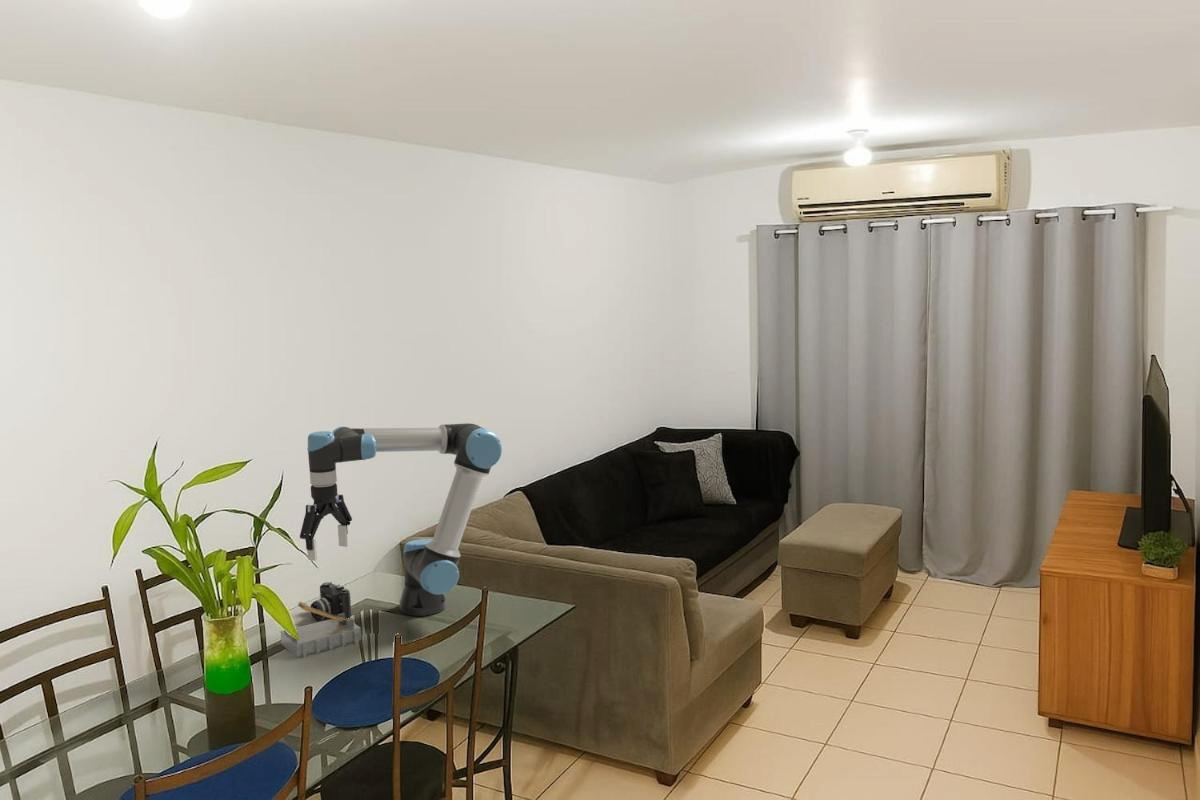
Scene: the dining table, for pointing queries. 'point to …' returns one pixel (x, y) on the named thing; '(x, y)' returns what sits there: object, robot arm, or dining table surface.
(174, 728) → the dining table surface
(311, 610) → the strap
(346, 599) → the camera
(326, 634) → the heatsink
